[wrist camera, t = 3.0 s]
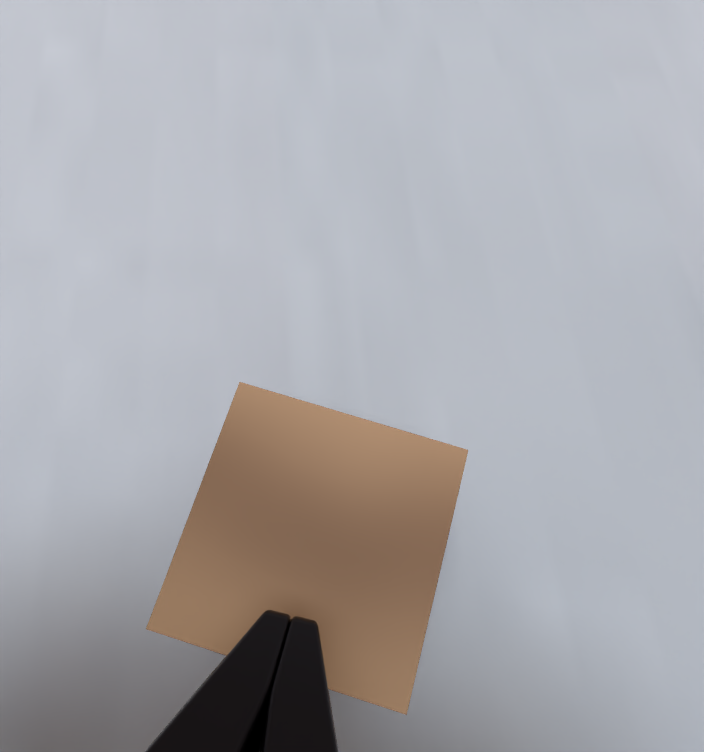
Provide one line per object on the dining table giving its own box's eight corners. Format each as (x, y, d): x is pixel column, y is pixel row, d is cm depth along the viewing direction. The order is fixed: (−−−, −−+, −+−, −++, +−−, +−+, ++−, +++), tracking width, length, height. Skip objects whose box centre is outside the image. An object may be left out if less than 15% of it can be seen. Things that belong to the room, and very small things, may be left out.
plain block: (374, 642, 17) (406, 714, 10) (226, 595, 18) (146, 629, 10) (414, 490, 19) (468, 450, 11) (277, 448, 19) (239, 382, 12)
